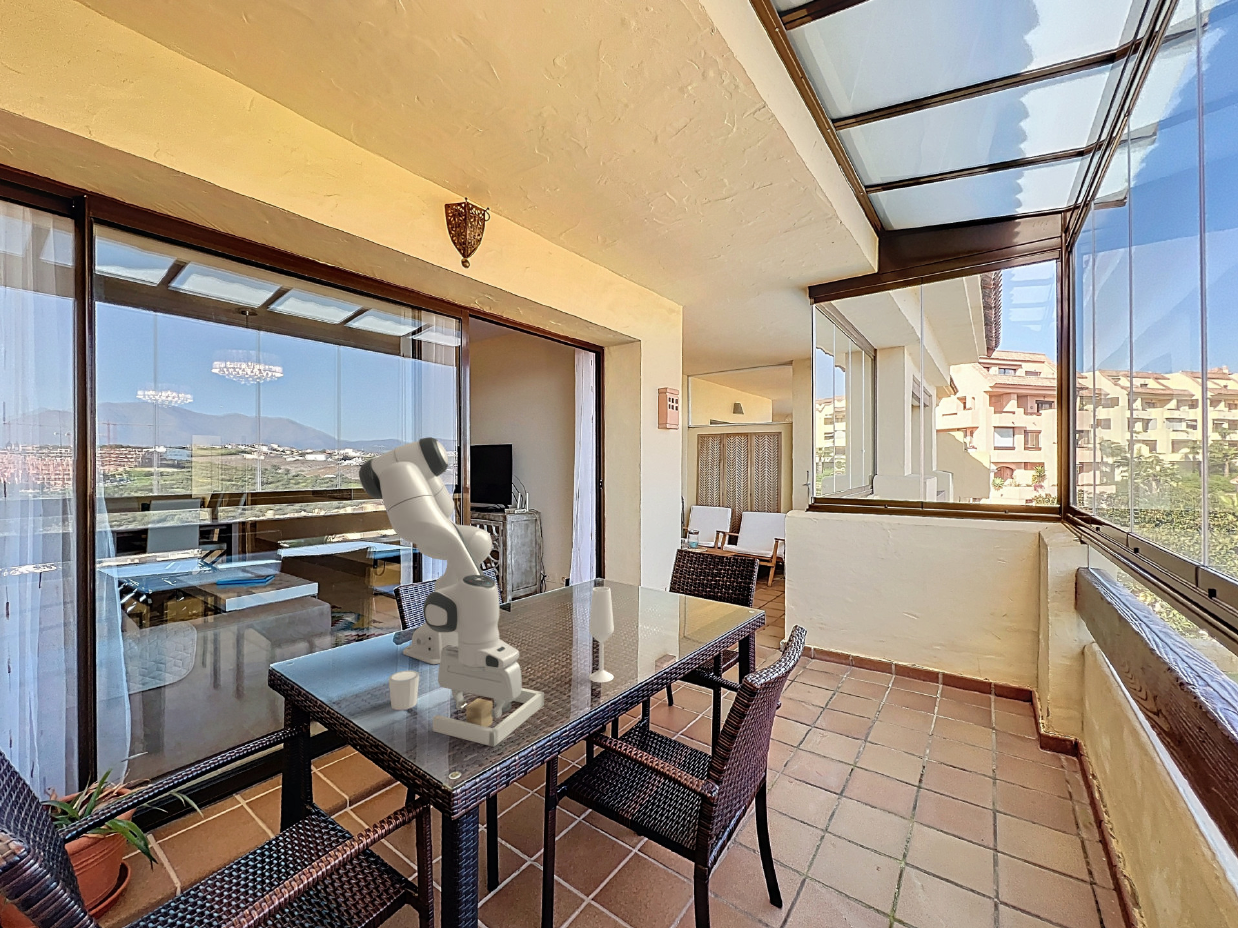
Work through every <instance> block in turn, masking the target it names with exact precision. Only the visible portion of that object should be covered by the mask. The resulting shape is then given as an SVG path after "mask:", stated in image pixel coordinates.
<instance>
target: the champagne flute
mask: <svg viewBox="0 0 1238 928" xmlns="http://www.w3.org/2000/svg"><path fill="white" fill-rule="evenodd" d="M590 607H591V608H590V615H589V626H588V631H589V633H590V635H591V636H592V637H593V638H594V639H595V640H596V641H597V642H598V643H599V644H598V645H599V647H598V649H599V653H598V654H599V655H598V660H599V662H598V664H599V665H598V670H596V671H595V672H593V673H591V674H590V675H589V676H588V679H589V680H590V681H592V682H595V683H608V682H610V681H612V680H613V679H614V675H613V674H612V673H610V672H608V671H607V670H605V669H604V662H605V661H604V659H605V657H604V649H605V648H604V643H605V642H606V641H607V640H608V639H609V638H610V637H611V636H612V635H613V633H614V630H615V628H614V616H613V615H614V614H613V603H612V593H611V588H610V587H607V586H597V587H596V586H595V587H593V588H592V596H591V606H590Z"/></svg>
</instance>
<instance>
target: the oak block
mask: <svg viewBox="0 0 1238 928" xmlns="http://www.w3.org/2000/svg"><path fill="white" fill-rule="evenodd" d="M493 708H494V701H491V700H488V699H483V698H480V697H479V698H478V697H477V698H476V699H475V700H473V701H471V702H470V703H469V704H467V706H466V708H465V709H466V711H465V712H466V713H465V715H466V721H465V722H468V723H472V724H476V725H480V726H484V727H489V728H490V726H491V725H493V717H492V716H491V715H492V713H491V710H492V709H493Z"/></svg>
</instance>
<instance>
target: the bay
mask: <svg viewBox="0 0 1238 928" xmlns="http://www.w3.org/2000/svg"><path fill="white" fill-rule="evenodd" d="M512 702H517V703H520V704H522V705H520V707H518V708H517V709H516V710H515V711H513V712H512V713H511V714H510V715H507V717H505V718H504V719H503V720H502V721H500V722H499V723H497V725H495V726H494V727H493V728H492V727H490V726H489V727H484V726H480V725H476V724H472V723H468V722H466V721H464V720H459V719H455V718H451V717H447V716H443V715H440V714H439V715H438V714H436V715H434V716H432V732H436V733H439V734H443V735H447V736H451V737H455V738H458V739H462V740H467V741H470V742H474V743H478V744H482V745H485V746H489V747H496V746H497V745H498V744H499V743H501V742H502V741H503V740H504V739H506V738H507V737H508V736H509V735H510V734H512V733H513V732H514V731H515V730H516V729H517V728H518V727H519V726H521V725H522V724H524V723H525V722H526V721H527V720H528V719H529V718H531V717H532V716H533V715H534V714H535V713H536V712H538V711H539V710H540V709H541V708H542V707H544V706H545V692H544V691H537V690H534V689H529V688H524V687H522V690H521V694H520V695H519V696H518V697H517V698H516V699H514V700H513V701H512Z"/></svg>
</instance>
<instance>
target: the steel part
mask: <svg viewBox="0 0 1238 928" xmlns="http://www.w3.org/2000/svg"><path fill="white" fill-rule="evenodd" d="M497 704H498V703H495V699H493V708H495V707H496V706H497ZM511 709H512V702H507V701H506V702H505V704H504V705H503V707H502V714H503V713H507V712H509V711H511Z"/></svg>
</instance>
